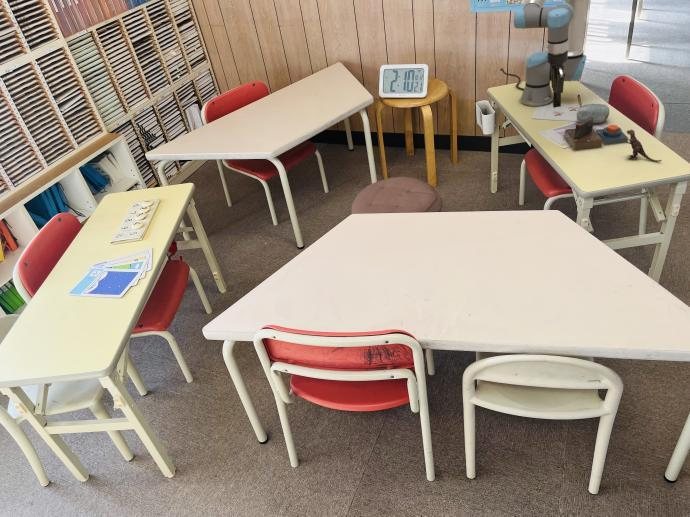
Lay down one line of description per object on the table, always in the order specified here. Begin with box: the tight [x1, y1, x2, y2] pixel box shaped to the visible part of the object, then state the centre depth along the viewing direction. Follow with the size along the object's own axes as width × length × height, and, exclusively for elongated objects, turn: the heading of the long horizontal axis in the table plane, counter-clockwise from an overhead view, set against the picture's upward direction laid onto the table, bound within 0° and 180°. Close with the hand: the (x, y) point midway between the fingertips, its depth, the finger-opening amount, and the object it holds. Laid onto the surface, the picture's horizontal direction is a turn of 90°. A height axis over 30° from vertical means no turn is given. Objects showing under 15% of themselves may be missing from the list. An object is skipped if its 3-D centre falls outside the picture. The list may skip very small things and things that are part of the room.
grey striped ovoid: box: [575, 103, 610, 124], centre depth 240 cm, size 14×10×10 cm
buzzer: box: [595, 126, 629, 146], centre depth 227 cm, size 11×9×4 cm
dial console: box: [563, 127, 603, 152], centre depth 228 cm, size 14×14×4 cm
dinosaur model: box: [626, 129, 663, 163], centre depth 207 cm, size 4×12×15 cm
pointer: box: [574, 117, 594, 139], centre depth 225 cm, size 10×2×6 cm, turn 127°
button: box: [607, 124, 619, 132], centre depth 225 cm, size 4×4×2 cm
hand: (556, 106), depth 225 cm, fingers closed
